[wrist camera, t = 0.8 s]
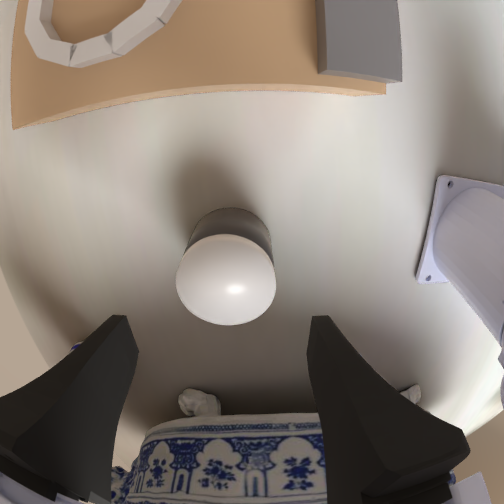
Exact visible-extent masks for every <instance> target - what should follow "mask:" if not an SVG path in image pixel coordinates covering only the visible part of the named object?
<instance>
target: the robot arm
mask: <svg viewBox="0 0 504 504" xmlns="http://www.w3.org/2000/svg"><path fill="white" fill-rule="evenodd" d="M449 181H450V185H449V186H448V182H449ZM428 275H429V276H428ZM427 276H428V277H427ZM426 277H427V278H426ZM416 281H417V282H418V283H419V284H429V283H441V282H450V283H451V284H452V285H453V286H454V287H455V289H456V290H457V291H458V292H459V293H460V294H461V296H462V297H463V298H464V299H465V300H466V302H467V303H468V304H469V305H470V306H471V308H472V309H473V310H474V311H475V313H476V314H477V315H478V316H479V318H480V319H481V320H482V322H483V323H484V324H485V325H486V327H487V328H488V329H489V331H490V332H491V333H492V335H493V336H494V338H495V339H496V340H497V342H498V343H499V344H500V346H501V347H502V351H501V353H500V355H499V357H498V360H499V362H500V364H501V365H502V367H503V368H504V186H503V185H498V184H493V183H488V182H483V181H478V180H472V179H466V178H460V177H454V176H447V175H441V176H439V177H438V179H437V183H436V189H435V195H434V201H433V206H432V212H431V217H430V222H429V226H428V231H427V235H426V240H425V244H424V248H423V252H422V256H421V260H420V263H419V267H418V271H417V274H416ZM138 353H139V350H138V348H137V345H136V342H135V340H134V337H133V334H132V331H131V329H130V326H129V323H128V320H127V317H126V316H124V315H112V316H111V317H110V318H109V319H107V320H106V321H105V322H104V323H103V324H102V325H101V326H100V327H99V328H97V329H96V330H95V331H94V332H93V333H92V334H91V335H90V336H89V337H88V338H87V339H85V340H84V341H83V342H82V343H81V344H80V345H79V346H78V347H77V348H75V349H74V350H73V351H72V352H71V353H70V354H68V355H67V356H66V357H65V358H64V359H63V360H61V361H60V362H59V363H58V364H56V365H55V366H54V367H52V368H51V369H50V370H48V371H47V372H45V373H44V374H43V375H41V376H40V377H38V378H36V379H35V380H33V381H31V382H30V383H28V384H26V385H25V386H23V387H21V388H19V389H17V390H15V391H13V392H12V393H9V394H7V395H5V396H2V397H0V504H84V503H81V502H79V500H81V501H84V502H88V501H89V502H92V503H95V504H111V503H112V501H111V473H112V459H113V450H114V443H115V437H116V431H117V425H118V421H119V418H120V414H121V411H122V408H123V405H124V402H125V399H126V396H127V393H128V390H129V387H130V384H131V382H132V379H133V376H134V372H135V368H136V363H137V358H138ZM307 361H308V370H309V377H310V381H311V386H312V390H313V394H314V398H315V402H316V406H317V410H318V415H319V419H320V423H321V429H322V435H323V444H324V454H325V466H326V483H327V504H491V501H490V498H489V494H488V491H487V488H486V485H485V482H484V479H483V476H482V473H481V472H477V473H476V474H474V475H472V476H470V477H468V478H466V479H464V480H462V481H460V482H458V483H456V484H454V485H453V486H451V487H449V485H448V481H450V480H451V475H450V472H449V471H450V470H452V469H453V468H454V467H455V466H457V465H458V464H459V463H460V462H462V461H463V460H464V459H465V458H466V457H467V456H468V455H469V453H470V448H469V445H468V443H467V440H466V437H465V435H464V433H463V431H462V429H460V428H458V427H456V426H453V425H451V424H449V423H447V422H445V421H443V420H441V419H439V418H437V417H435V416H433V415H432V414H430V413H428V412H427V411H425V410H423V409H422V408H420V407H419V406H417V405H416V404H414V403H413V402H411V401H410V400H409V399H407V398H406V397H404V396H403V395H402V394H400V393H399V392H398V391H397V390H395V389H394V388H393V387H392V386H391V385H389V384H388V383H387V382H386V381H385V380H384V379H383V378H382V377H381V376H380V375H379V374H377V373H376V372H375V371H374V370H373V368H372V367H371V366H370V365H369V364H368V363H367V362H366V361H365V360H364V359H363V358H362V357H361V356H360V354H359V353H358V352H357V351H356V350H355V349H354V347H353V346H352V345H351V344H350V343H349V341H348V340H347V339H346V338H345V336H344V335H343V334H342V333H341V331H340V330H339V329H338V327H337V326H336V325H335V323H334V322H333V321H332V319H331V318H330V317H329V316H312V321H311V328H310V335H309V341H308V348H307ZM501 400H502V405H503V408H504V375H503V378H502V382H501Z"/></svg>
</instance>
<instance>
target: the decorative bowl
mask: <svg viewBox="0 0 504 504" xmlns="http://www.w3.org/2000/svg"><path fill="white" fill-rule="evenodd" d="M400 394H402V395H403V396H404V397H406V398H407V399H409V400H410V401H411V402H413V403H414V404H417V403H419V402H420V399H421V391H420V387H419V385H418V384H416V385H413V386H412V387H410V388H409V389H408V390H407V391H402V392H400ZM178 404H180V408H181V410H182V411H183V412H184V413H185V414H186V415H187V416H196V417H190V418H181V419H176V420H172V421H168V422H164V423H161V424H159V425H156V426H154V427H152V428H151V429H149V430H148V431H147V433H146V435H145V440H144V441H143V443H142V445H141V449H140V453H139V456H138V457H137V458H136V459H135V460H134V461H133V463H132V466H131V467H132V469H131V471H130V472H127V471H126V470H124V469H123V468H122V467H120V466H115V467H112V473H111V501H112V503H111V504H327V483H326V466H325V454H324V444H323V435H322V429H321V423H320V419H319V415H318V413H282V414H259V415H221V403H220V401H219V399H218V398H217V397H216V396H214V395H213V394H206V393H204V392H203V391H199V390H195V389H191V388H188V389H186V390H184V391H183V394H181V395H179V399H178ZM423 410H424V409H423ZM425 411H426V410H425ZM427 412H428V411H427ZM428 413H430V412H428ZM430 414H431V413H430ZM449 472H450V475H451V480H450V481H448V485H449V487H451V486H453V485H454V484H455V482H456V477H455V475H454V472H453V469H452V470H450V471H449Z"/></svg>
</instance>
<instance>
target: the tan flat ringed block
mask: <svg viewBox="0 0 504 504" xmlns="http://www.w3.org/2000/svg"><path fill="white" fill-rule="evenodd" d="M395 82H402V51H401V34H400V22H399V12H398V4H397V0H19V1H18V7H17V13H16V19H15V26H14V34H13V44H12V58H11V113H12V127H13V130H15V129H19V128H23V127H27V126H32V125H36V124H41V123H46V122H51V121H55V120H59V119H62V118H66V117H69V116H73V115H76V114H80V113H84V112H88V111H92V110H96V109H100V108H105V107H109V106H114V105H119V104H124V103H129V102H135V101H141V100H147V99H153V98H160V97H168V96H176V95H185V94H195V93H207V92H223V91H253V90H273V91H303V92H318V93H330V94H341V95H349V96H365V95H383V94H386V83H395Z"/></svg>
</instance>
